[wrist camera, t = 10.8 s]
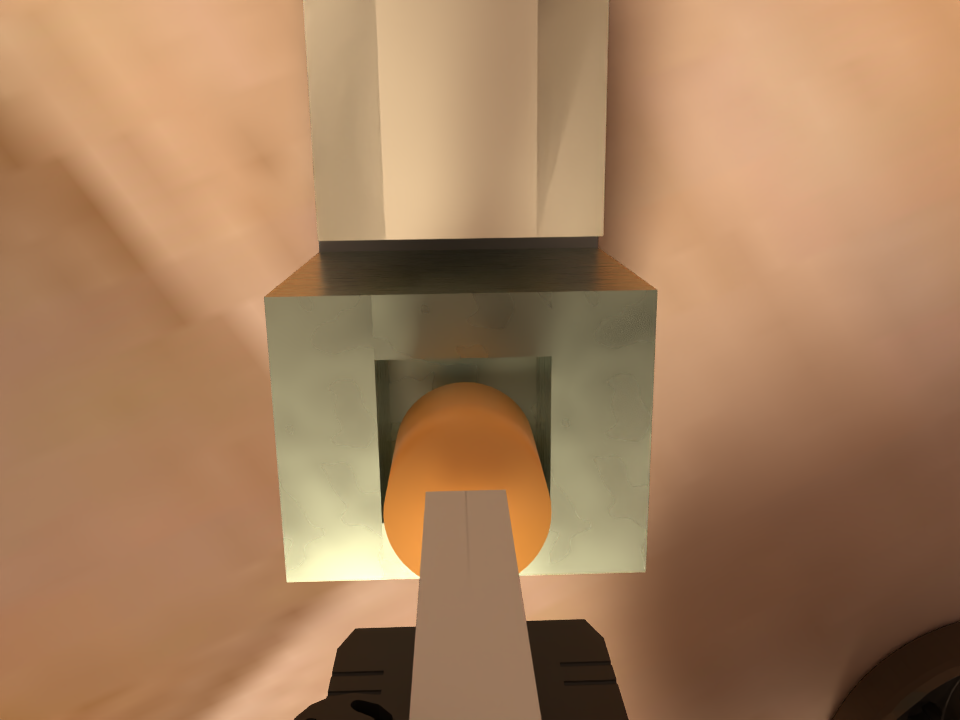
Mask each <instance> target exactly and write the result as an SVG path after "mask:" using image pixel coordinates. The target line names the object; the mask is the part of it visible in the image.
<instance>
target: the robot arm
mask: <svg viewBox="0 0 960 720" xmlns="http://www.w3.org/2000/svg"><path fill="white" fill-rule="evenodd" d="M294 720H629V719H628V716H627V713H626V710H625V706H624V703H623V700H622V697H621V693H620V690H619V687H618V684H617V683H616V677H615V674H614V670H613V667H612V665H611V661H610V657H609V654H608V651H607V648H606V644H605V641H604V638H603V637H602V636H601V635H600V634H599V633H598V632H597V631H596V630H595V629H594V628H593V627H592V626H591V625H590V624H589V623H588V622H587V621H586V620H585V619H577V620H544V621H526V617H525V611H524V604H523V598H522V592H521V585H520V579H519V572H518V566H517V559H516V553H515V546H514V540H513V534H512V527H511V521H510V514H509V508H508V501H507V495H506V490H472V491H433V492H426V496H425V509H424V523H423V537H422V550H421V564H420V578H419V592H418V605H417V619H416V627H391V628H358V629H355V630H354V631H353V632H352V633H351V634H350V635H349V637H348V638H347V639H346V640H345V641H344V642H343V643H342V644H341V646H340V647H339V648H338V649H337V653H336V658H335V662H334V667H333V671H332V677H331V680H330V684H329V689H328V696H327V698H326V699H324V700H321V701H319V702H317V703H314V704H312V705H310V706H309V707H308V708H307V709H305V710H304V711H303V712H302V713H300V714H299V715H298V716H297V717H296V718H295V719H294ZM833 720H960V622H958V623H954V624H951V625H948V626H945V627H942V628H940V629H937V630H935V631H932V632H930V633H928V634H926V635H924V636H922V637H919V638H917V639H916V640H914V641H912V642H910V643H908V644H907V645H905V646H903V647H902V648H900V649H899V650H897V651H896V652H894V653H893V654H891V655H890V656H889V657H887V658H886V659H884V660H883V661H882V662H881V663H880V664H878V665H877V666H876V667H875V668H874V669H872V670H871V671H870V672H869V673H868V674H867V675H866V676H865V677H864V678H863V679H862V680H861V681H860V682H859V683H858V685H857V686H856V687H855V688H854V689H853V690H852V692H851V693H850V694H849V695H848V697H847V698H846V699H845V701H844V702H843V704H842V705H841V707H840V708H839V710H838V712H837V713H836V715H835V717H834V718H833Z"/></svg>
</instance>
